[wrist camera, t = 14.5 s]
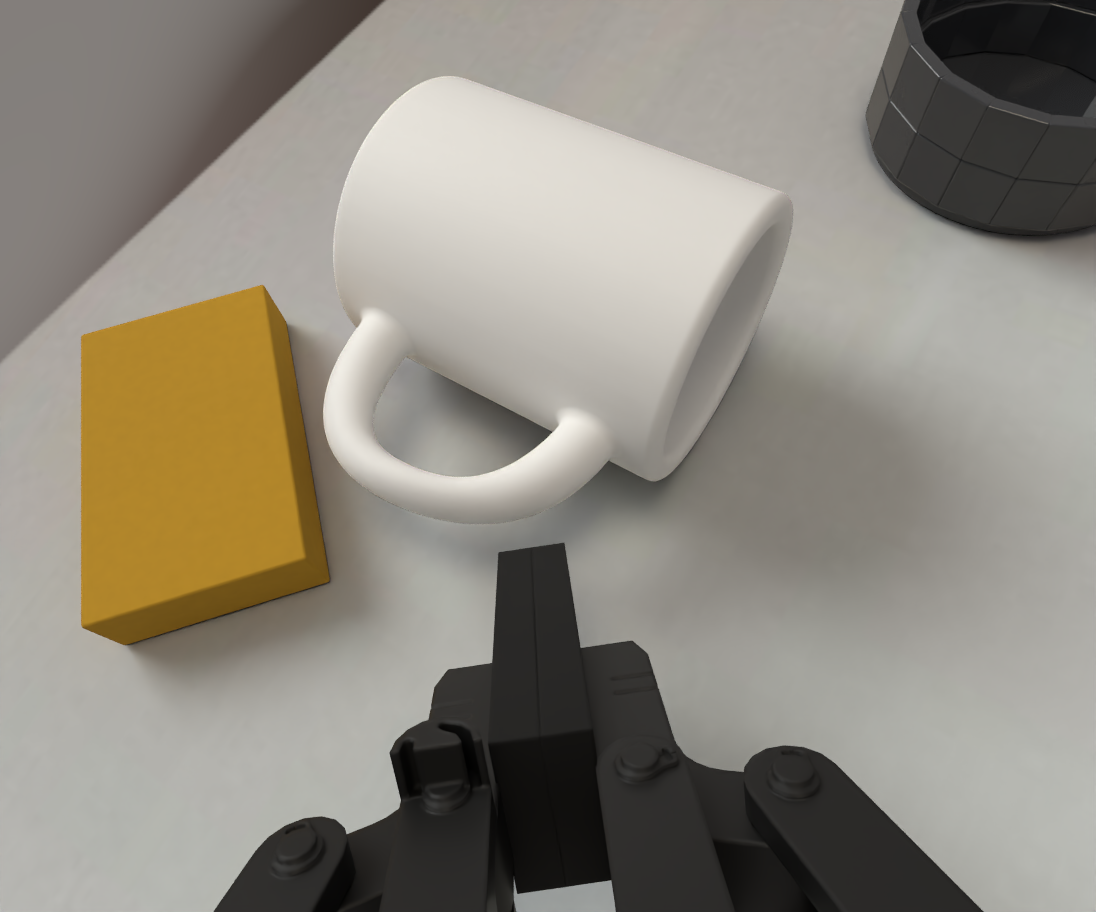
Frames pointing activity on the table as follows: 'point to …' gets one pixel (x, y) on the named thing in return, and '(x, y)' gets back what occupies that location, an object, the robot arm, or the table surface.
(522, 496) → the mug
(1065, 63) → the dark grey round container
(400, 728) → the table surface
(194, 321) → the ochre rectangular brick
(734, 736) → the table surface
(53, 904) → the table surface
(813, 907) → the robot arm
